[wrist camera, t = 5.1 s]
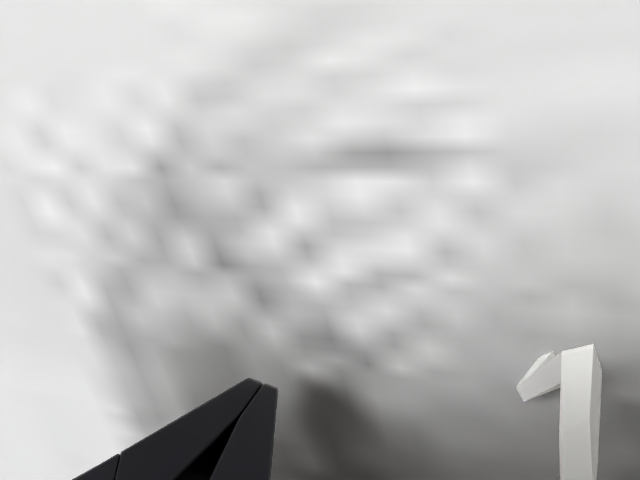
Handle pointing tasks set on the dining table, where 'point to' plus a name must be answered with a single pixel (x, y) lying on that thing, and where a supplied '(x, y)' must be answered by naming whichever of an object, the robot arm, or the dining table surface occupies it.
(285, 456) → the dining table surface
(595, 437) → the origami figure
